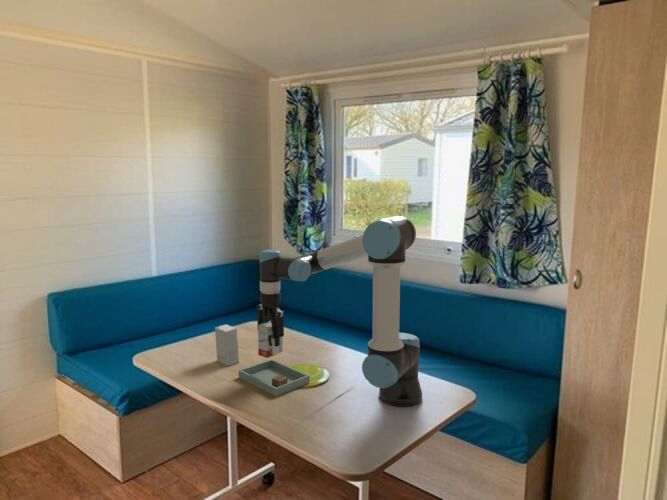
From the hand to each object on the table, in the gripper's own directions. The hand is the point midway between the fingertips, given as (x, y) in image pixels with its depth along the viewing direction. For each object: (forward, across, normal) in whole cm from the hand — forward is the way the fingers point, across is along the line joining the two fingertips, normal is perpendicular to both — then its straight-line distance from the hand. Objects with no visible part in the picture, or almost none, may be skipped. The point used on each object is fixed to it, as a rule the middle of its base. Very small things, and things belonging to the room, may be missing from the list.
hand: (270, 351), depth 188 cm
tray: (+11, -3, +1) cm, 12 cm away
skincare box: (+12, +26, +2) cm, 28 cm away
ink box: (+1, 0, 0) cm, 1 cm away
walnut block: (+10, -10, +4) cm, 15 cm away
